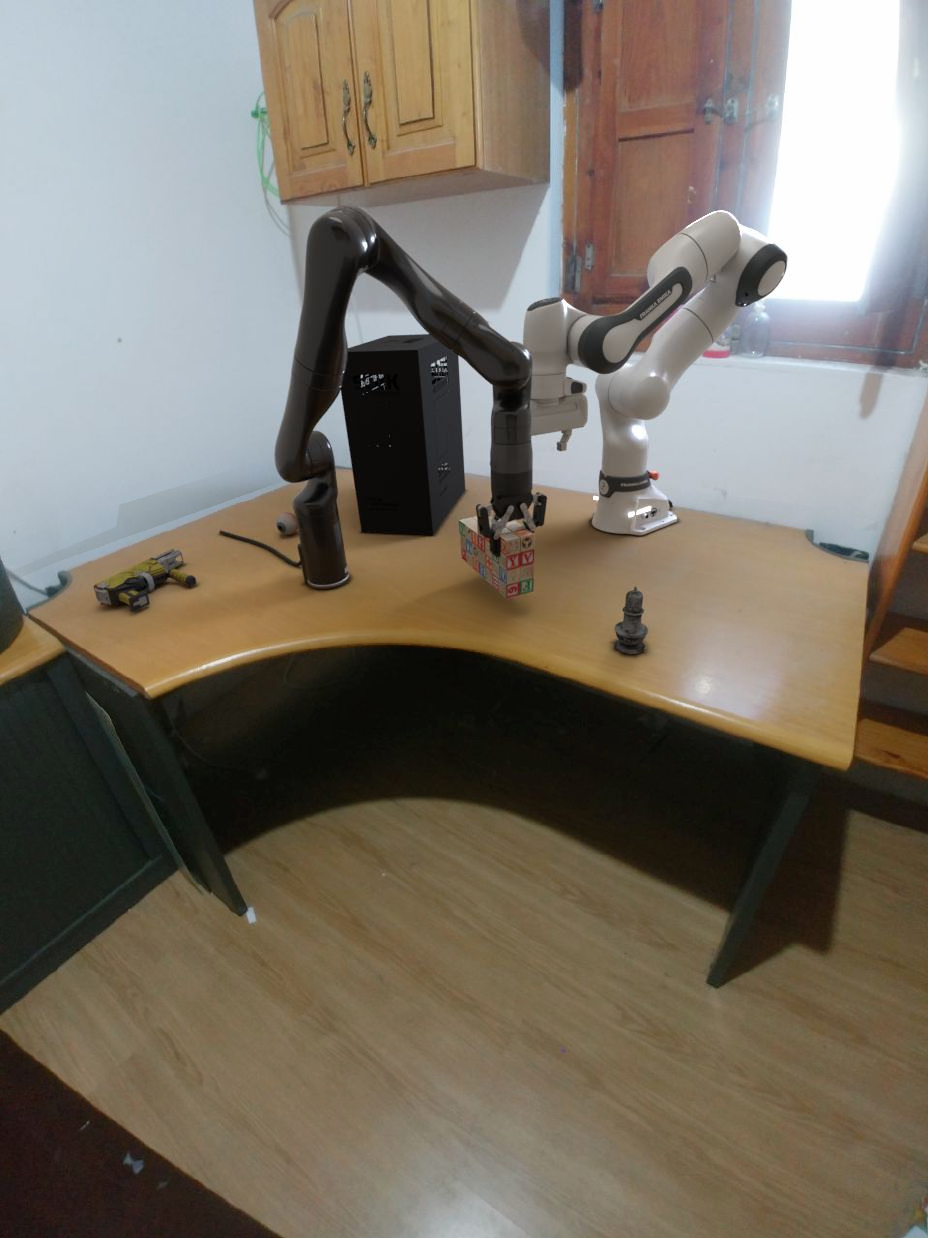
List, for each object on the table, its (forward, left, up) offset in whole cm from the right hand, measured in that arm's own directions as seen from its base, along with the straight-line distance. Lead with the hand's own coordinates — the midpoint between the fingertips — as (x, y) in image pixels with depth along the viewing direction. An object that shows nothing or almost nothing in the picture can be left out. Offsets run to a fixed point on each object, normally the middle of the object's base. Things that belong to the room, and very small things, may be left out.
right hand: (543, 453), depth 132 cm
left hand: (+18, +19, -12) cm, 29 cm away
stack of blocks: (+19, +12, -20) cm, 30 cm away
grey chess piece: (+7, +42, -25) cm, 49 cm away
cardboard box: (+14, -47, -25) cm, 55 cm away
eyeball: (+51, -48, -25) cm, 74 cm away
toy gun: (+84, -30, -25) cm, 93 cm away
